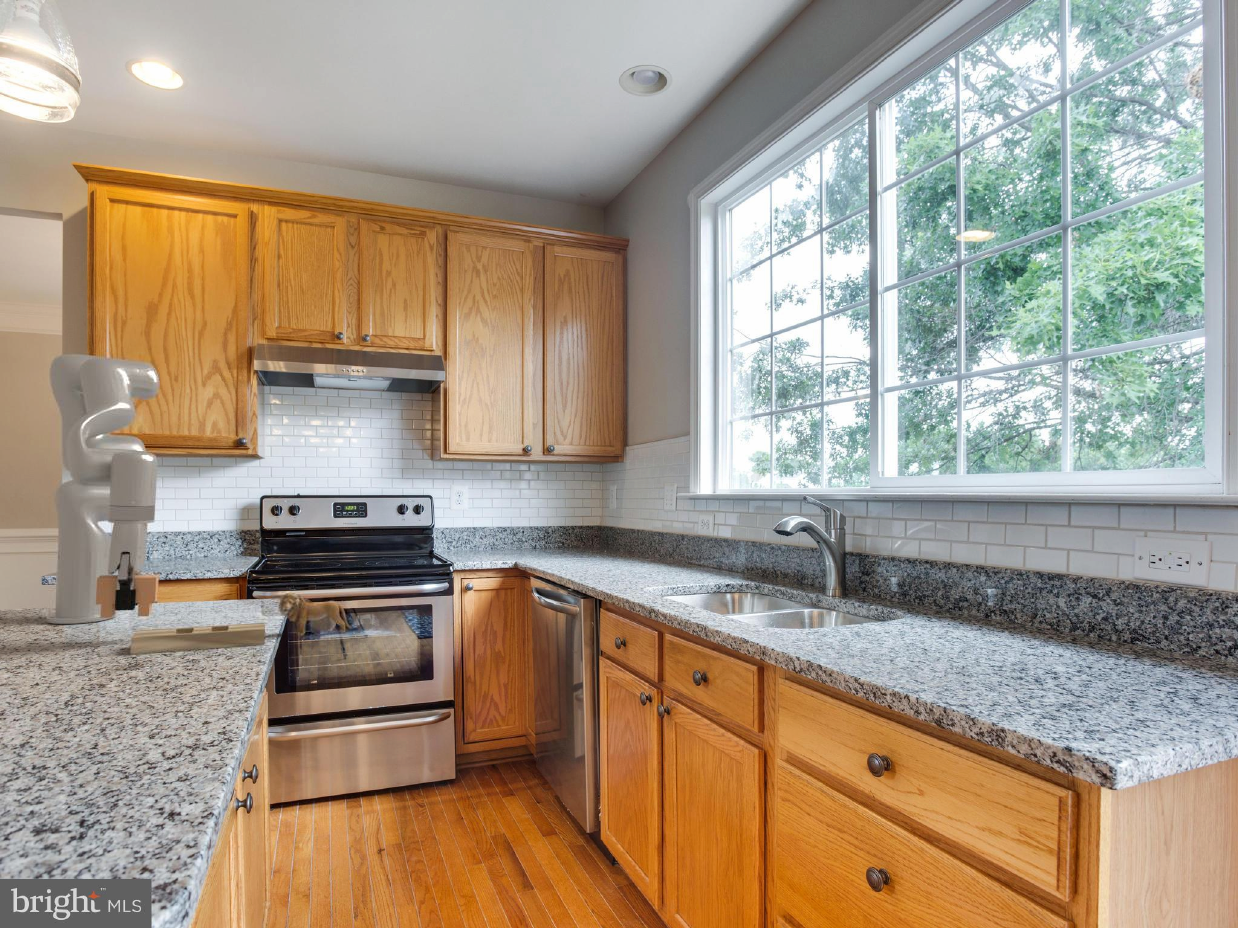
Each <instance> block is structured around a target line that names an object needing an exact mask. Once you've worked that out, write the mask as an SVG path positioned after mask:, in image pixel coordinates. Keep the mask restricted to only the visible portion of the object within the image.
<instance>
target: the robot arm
mask: <svg viewBox="0 0 1238 928" xmlns="http://www.w3.org/2000/svg"><path fill="white" fill-rule="evenodd" d="M49 384H50V387H51V391H52V394H53V396H54V399H55V401H56V402H55V403H56V405H57V407H58V408H59V413H60V416H61V447H62V448H61V454H62V462H63V463H62V464H63V466H64V468H65V469H66V470H67V471H68V472H69V474H70V477H71V478H72V480H68V481H65V482H63V483H61V484H60V485H59V486H58V487H57V488H56V490H55V493H54V504H55V505H54V506H55V511H56V516H57V517H56V519H57V529H58V530H57V531H58V534H57V537H58V538H57V540H58V541H57V542H58V543H57V561H56V562H57V565H56V566H57V567H56V584H55V585H56V587H55V590H56V592H55V609H54V610H55V611H54V613H52V614H49V615H46V617H45V622H47V623H48V624H59V625H68V624H69V625H70V624H71V625H72V624H75V625H76V624H85V623H87V624H88V623H94V622H101V621H106V620H110V619H114V618H115V617H116V616H117V611H134V610H135V608H136V606H138V605H139V603H135V601H136V589H134V587H135V575H140V572H141V570H143V568H144V567H145V563H146V554H147V541H148V540H147V539H148V524H151V523H154V522H155V513H156V501H157V500H156V499H157V496H156V494H157V482H158V481H157V479H158V458H157V456H156V455H155V454H154V453H151V452H147V449H146V446H145V444H144V442H143V441H142V440H141V439H140V438H138V437H136V436H132V435H122V434H121V435H120V434H111V433H113V432H117V431H120V430H123V429H124V428H127V427H128V426H130V425H131V424H132V423H133V422H134V420H135V419H136V416H137V413H136V407H135V403H134V399H135V400H136V399H139V400H152V399H154V398H156V396H157V394H158V393H159V389H160V377H159V374H158V371H157V370H156V368H155V366H153V365H152V364H151V363H149V362H145V361H138V360H130V359H120V358H114V357H106V356H105V357H103V356H99V355H98V356H96V355H89V354H79V353H76V354H74V353H72V354H70V353H69V354H61V355H59V356H56V357H55V358H53V360H52V361H51V364H50V368H49ZM99 522H107V523H110V524H113V525H112V530H111V537H110V536H109V535H108V534H107V533H106V531H105V530H104V529H103V528H102V527H101V526H100V525H99ZM116 572H117V574H116V575H117V576H118V577H117V590H116V596H115V614H114V616H113V617H112V618H101V604H99V605H95V604H96V586H97V578H98V577H99V576H101V575H115V573H116ZM130 577H131V579H130Z"/></svg>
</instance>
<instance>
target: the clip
mask: <svg viewBox="0 0 1238 928" xmlns="http://www.w3.org/2000/svg"><path fill="white" fill-rule="evenodd" d="M117 575H118V574H116V575H115V574H109V575H101V576H99V577H98V578H97V586H96V604H95V605H99V604H101V618H111V619H113V618H112V617H113V616H114V614H115V611H116V610H115V596H116V590H117V577H118V576H117ZM130 579H131V577H130ZM134 589H136V601H135V603H139V604H138V605H137V607H138V608H137V617H150V615H151V614H152V610H153V609H152V606H153V603H156V602H157V601H158V595H159V594H158V593H159V574H158V573H157V574H139V575H135V587H134Z"/></svg>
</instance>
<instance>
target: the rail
mask: <svg viewBox="0 0 1238 928" xmlns="http://www.w3.org/2000/svg"><path fill="white" fill-rule="evenodd" d="M130 639H131V640H130V655H142V654H155V653H168V652H182V651H183V652H184V651H194V650H196V651H197V650H209V649H222V648H235V647H238V648H239V647H247V646H248V647H250V646H251V647H252V646H263V645H265V644H266V640H265V639H266V622H259V623H258V622H257V623H256V622H255V623H239V624H238V623H237V624H224V625H223V624H222V625H221V624H219V625H207V626H206V625H205V626H192V627H190V626H189V627H174V628H158V629H157V628H156V629H144V630H142V629H141V630H136V632H135V633H134V634H133V635H132V636H131V638H130Z"/></svg>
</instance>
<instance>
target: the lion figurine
mask: <svg viewBox="0 0 1238 928" xmlns="http://www.w3.org/2000/svg"><path fill="white" fill-rule="evenodd" d="M278 609H279V610H278V611H279V612H280V614H281V615H283V616H285V617H287V618H288V620H289V621H290V622H295V623H296V625H297V630H295V631H294V634H296V635H297V636H298V637H303V636H304V635H305V633H306V624H307V622H308V621H318V620H322V619H324V618H326V617H328V619H329V622H330V626H329V627H327V628H326V629H325V632H332V631H333V630H334V628H335V627H336V625H338V626H340V628H341V629H339V630H338V632H337V633H338V634H345V632H346V628H347V629H353V627H352V625H350V624H348V620H347V615H346V612H345V610H344V607H343V606H342V605H341V604H340V603H339V602H337V601H335V600H329V601H325V602H319V603H318V602H317V603H315V602H313V601H311V600H309V598H308V597H307V598H306V597H303V596H301V595H299V594H298V593H295V592H286V593H284V594H282V595H280V596H279V603H278ZM340 614H341V616H340ZM341 617H342V618H341Z"/></svg>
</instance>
